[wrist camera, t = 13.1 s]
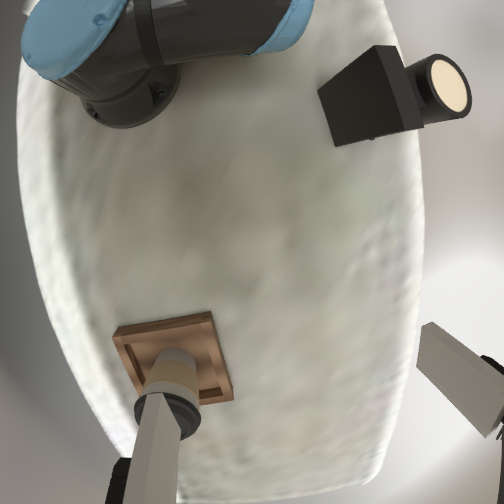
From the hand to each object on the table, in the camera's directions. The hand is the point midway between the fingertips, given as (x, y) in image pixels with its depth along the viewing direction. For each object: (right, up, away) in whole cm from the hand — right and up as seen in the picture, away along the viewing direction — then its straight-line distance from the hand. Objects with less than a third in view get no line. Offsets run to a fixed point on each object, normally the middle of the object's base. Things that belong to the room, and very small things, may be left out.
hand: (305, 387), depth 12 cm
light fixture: (+15, +28, +27) cm, 42 cm away
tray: (-15, -12, +33) cm, 38 cm away
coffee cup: (-15, -12, +32) cm, 38 cm away
